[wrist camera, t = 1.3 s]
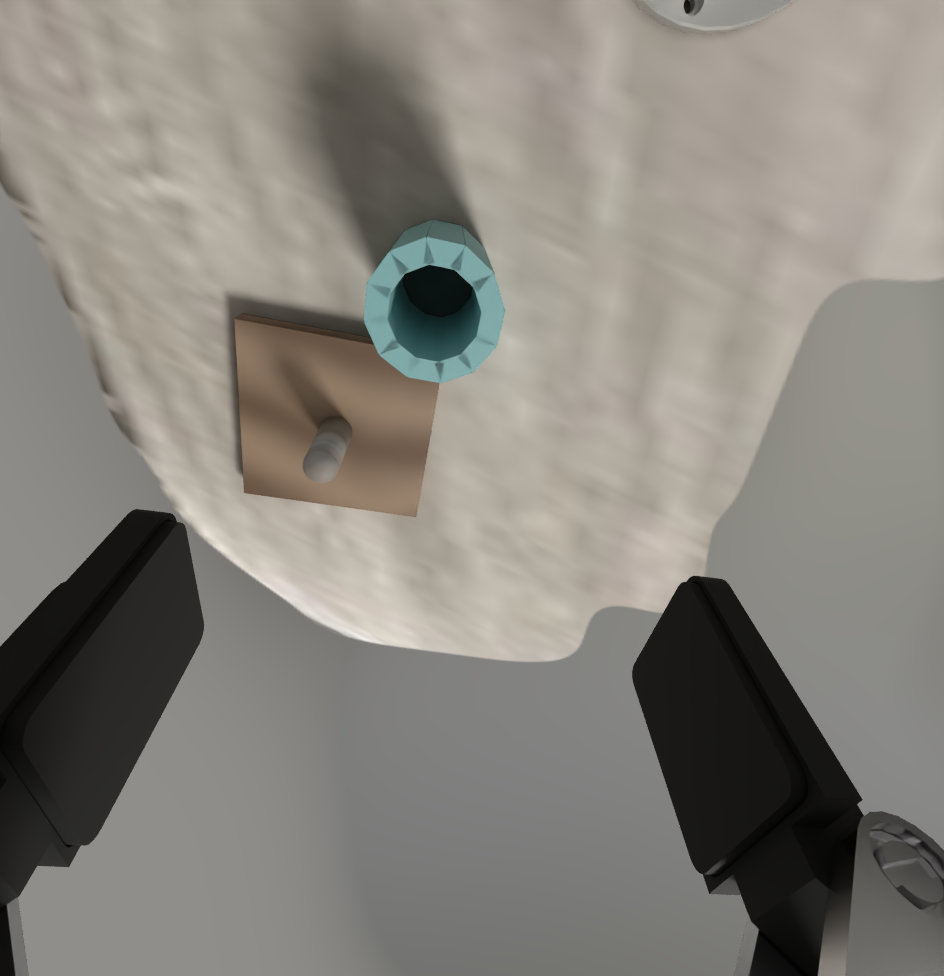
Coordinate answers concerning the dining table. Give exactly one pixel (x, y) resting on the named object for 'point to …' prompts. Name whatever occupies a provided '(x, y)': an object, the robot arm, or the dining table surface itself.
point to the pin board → (322, 389)
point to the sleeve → (424, 338)
